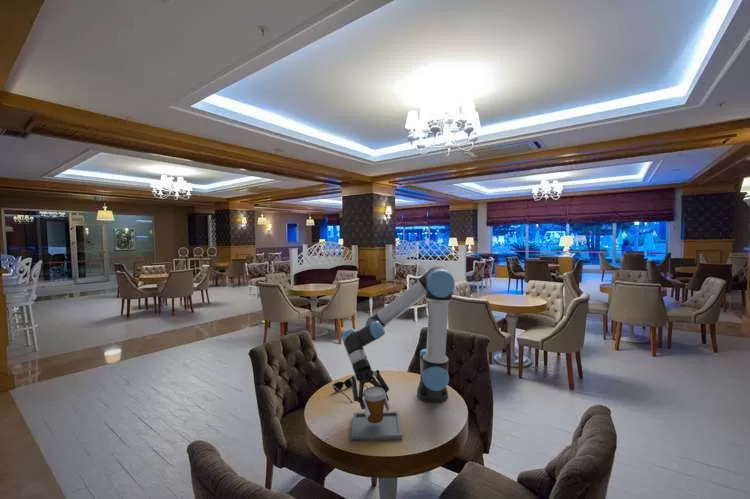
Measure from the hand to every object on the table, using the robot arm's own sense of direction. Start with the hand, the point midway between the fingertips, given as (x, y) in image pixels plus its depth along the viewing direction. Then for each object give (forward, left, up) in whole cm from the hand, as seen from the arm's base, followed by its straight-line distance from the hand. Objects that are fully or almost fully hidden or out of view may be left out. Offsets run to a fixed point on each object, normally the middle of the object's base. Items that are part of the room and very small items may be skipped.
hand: (378, 412), depth 144 cm
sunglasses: (+13, -34, -8) cm, 38 cm away
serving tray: (+1, -3, -8) cm, 8 cm away
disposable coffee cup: (+2, -3, -4) cm, 6 cm away
